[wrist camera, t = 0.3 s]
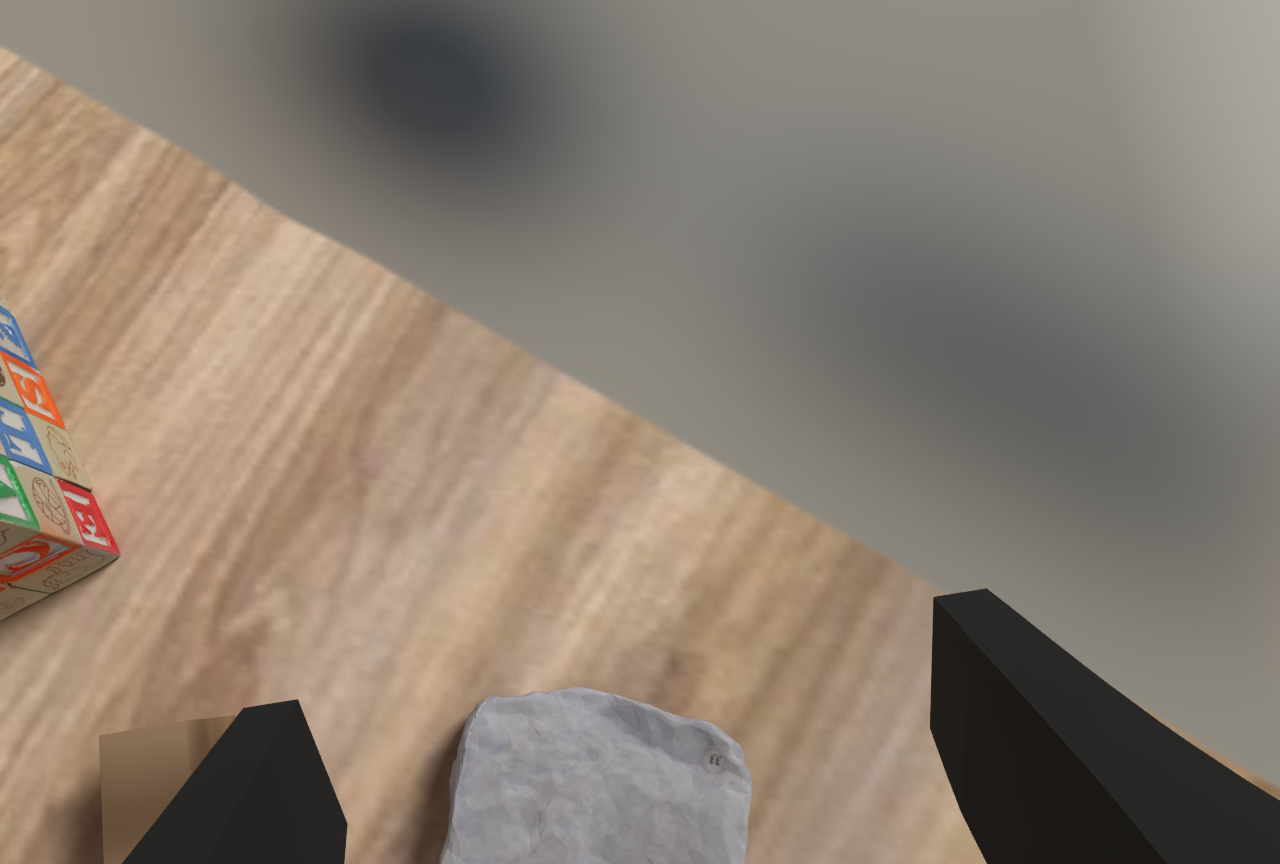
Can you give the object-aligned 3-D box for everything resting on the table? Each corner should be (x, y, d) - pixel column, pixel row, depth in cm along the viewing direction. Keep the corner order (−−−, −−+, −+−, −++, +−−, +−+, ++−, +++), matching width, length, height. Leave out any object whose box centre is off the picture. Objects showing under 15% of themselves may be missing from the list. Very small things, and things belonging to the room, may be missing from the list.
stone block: (464, 693, 41) (423, 964, 37) (454, 669, 37) (406, 973, 33) (746, 719, 42) (738, 991, 37) (769, 699, 37) (762, 1003, 33)
